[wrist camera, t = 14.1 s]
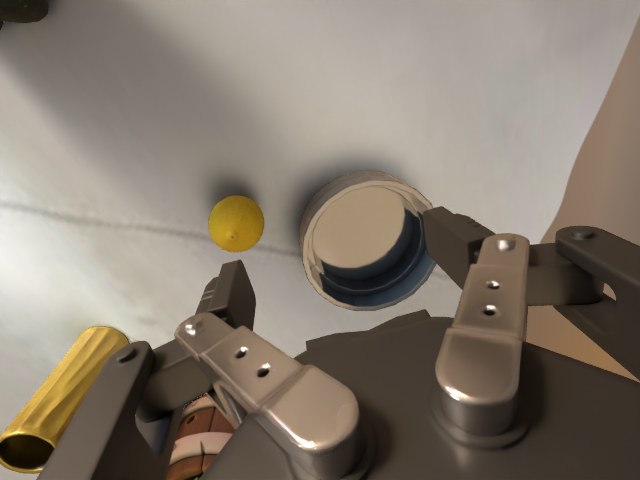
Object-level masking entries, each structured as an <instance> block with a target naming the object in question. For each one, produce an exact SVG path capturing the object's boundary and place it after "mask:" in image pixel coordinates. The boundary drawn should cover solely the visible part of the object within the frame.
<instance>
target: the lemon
mask: <svg viewBox="0 0 640 480" xmlns="http://www.w3.org/2000/svg"><path fill="white" fill-rule="evenodd" d="M208 228H209V233H210V236H211V238H212V240H213V241H214V242H215V243H216V245H217V246H219V247H220V248H222V249H223V250H226V251H228V252H242V251H246V250H248V249H250V248H251V247H253V246H254V245H255V244H256V243H257V242H258V241H259V239H260V237H261V235H262V233H263V229H264V217H263V213H262V211H261V209H260V208H259V206H258V205H257V204H256V203H255V202H254V201H253V200H251V199H249V198H247V197H244V196H236V195H235V196H229V197H226V198H224V199H222V200H221V201H220V202H218V203H217V204H216V205H215V207H214V208H213V209H212V211H211V213H210V216H209V222H208Z"/></svg>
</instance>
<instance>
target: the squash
mask: <svg viewBox="0 0 640 480" xmlns="http://www.w3.org/2000/svg"><path fill="white" fill-rule="evenodd" d="M47 13H48V2H47V0H0V30H1V28H2V25H3V21H5V22H16V23H32V22H37V21H40V20H41V19H43V18H44V17H45V16H46V15H47Z"/></svg>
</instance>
